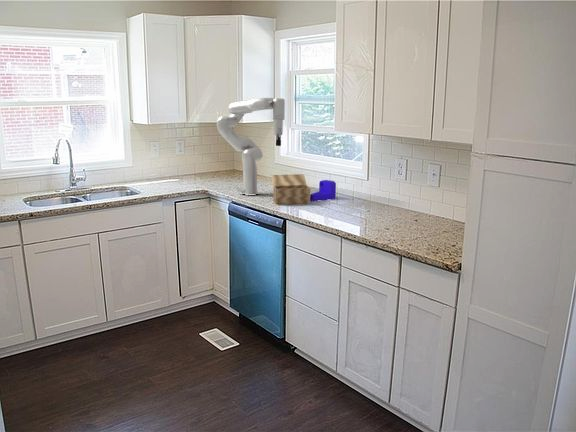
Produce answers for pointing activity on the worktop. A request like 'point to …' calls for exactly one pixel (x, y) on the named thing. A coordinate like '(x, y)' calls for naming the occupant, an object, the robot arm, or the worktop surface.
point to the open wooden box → (291, 194)
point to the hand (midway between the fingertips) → (278, 145)
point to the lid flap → (288, 180)
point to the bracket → (324, 191)
